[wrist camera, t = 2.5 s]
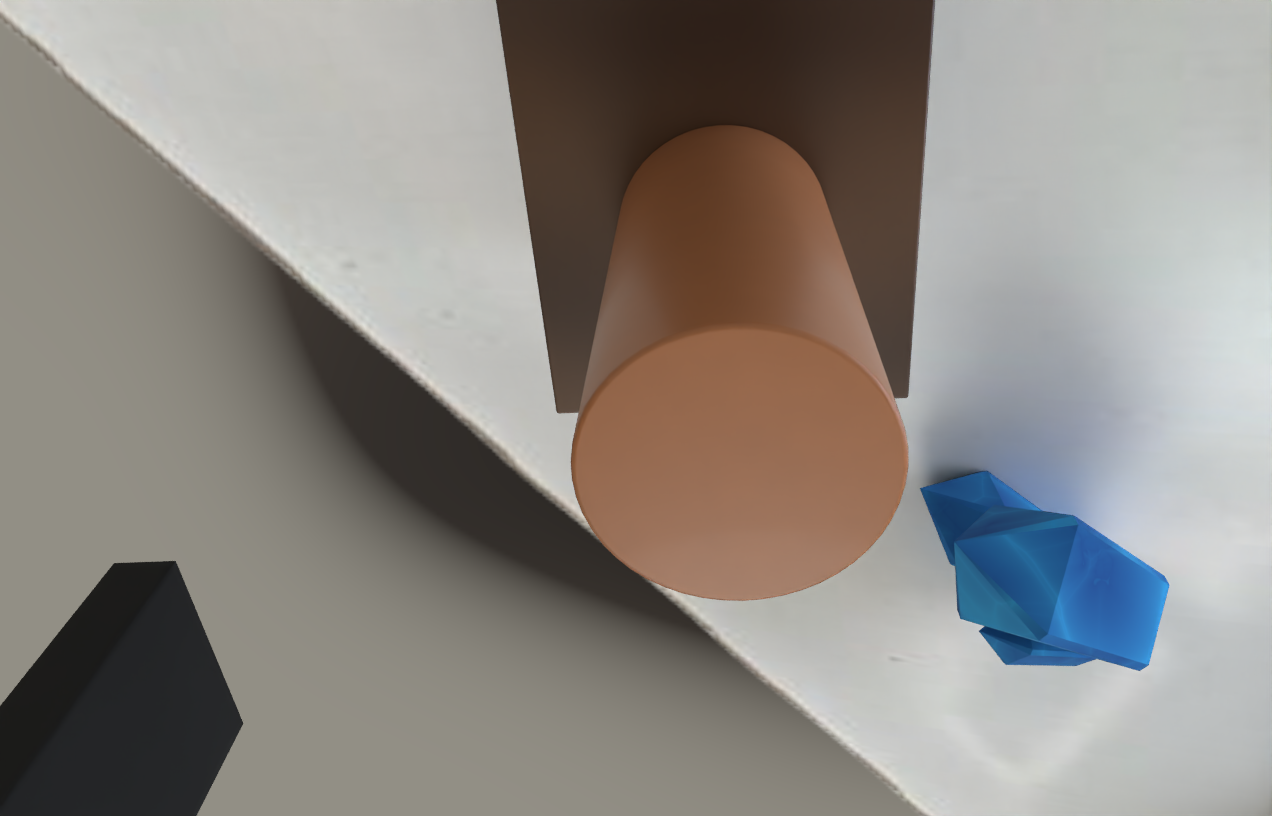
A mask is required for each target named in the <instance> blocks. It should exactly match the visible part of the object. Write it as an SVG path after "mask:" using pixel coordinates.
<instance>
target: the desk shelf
mask: <svg viewBox="0 0 1272 816" xmlns="http://www.w3.org/2000/svg"><path fill="white" fill-rule="evenodd" d="M496 3H497V10H498V17H499V24H500V31H501V37H502V44H503V51H504V58H505V65H506V71H507V78H508V85H509V92H510V98H511V105H512V112H513V119H514V126H515V132H516V139H517V146H518V153H519V160H520V166H521V173H522V180H523V187H524V194H525V200H526V207H527V214H528V221H529V227H530V234H531V241H532V248H533V255H534V261H535V268H536V275H537V282H538V289H539V295H540V302H541V309H542V316H543V323H544V329H545V336H546V343H547V350H548V356H549V363H550V370H551V377H552V384H553V390H554V397H555V404H556V411H557V413H577V412H579V409H580V404H581V399H582V394H583V389H584V384H585V379H586V375H587V370H588V365H589V360H590V355H591V350H592V345H593V340H594V336H595V331H596V326H597V321H598V316H599V311H600V306H601V301H602V296H603V292H604V287H605V282H606V277H607V272H608V267H609V262H610V257H611V253H612V248H613V243H614V238H615V233H616V228H617V223H618V218H619V214H620V209H621V205H622V201H623V197H624V195H625V192H626V190H627V187H628V185H629V183H630V181H631V179H632V178H633V176H634V174H635V173H636V171H637V170H638V169H639V167H640V166H641V165H642V163H643V162H644V161H645V160H646V159H647V158H648V157H649V156H650V155H651V154H652V153H653V152H654V151H656V150H657V149H658V148H659V147H661V146H662V145H663V144H665V143H666V142H668V141H670V140H672V139H673V138H675V137H677V136H679V135H682V134H684V133H686V132H689V131H692V130H695V129H699V128H703V127H709V126H716V125H735V126H743V127H749V128H753V129H756V130H760V131H763V132H765V133H767V134H770V135H772V136H774V137H776V138H778V139H780V140H781V141H783V142H785V143H786V144H787V145H789V146H790V147H791V148H792V149H794V150H795V151H796V152H797V153H798V154H799V155H800V156H801V157H802V158H803V159H804V160H805V161H806V162H807V164H808V165H809V166H810V168H811V169H812V171H813V172H814V174H815V176H816V178H817V179H818V181H819V183H820V186H821V188H822V191H823V194H824V197H825V200H826V203H827V206H828V209H829V211H830V214H831V217H832V220H833V223H834V226H835V229H836V232H837V234H838V237H839V240H840V243H841V246H842V249H843V252H844V255H845V257H846V260H847V263H848V266H849V269H850V272H851V275H852V278H853V281H854V283H855V286H856V289H857V292H858V295H859V298H860V301H861V304H862V306H863V309H864V312H865V315H866V318H867V321H868V324H869V327H870V329H871V332H872V335H873V338H874V341H875V344H876V347H877V350H878V352H879V355H880V358H881V361H882V364H883V367H884V370H885V373H886V376H887V378H888V381H889V384H890V387H891V390H892V393H893V396H894V398H907V397H908V392H909V377H910V363H911V348H912V333H913V318H914V304H915V289H916V274H917V259H918V245H919V230H920V215H921V200H922V186H923V171H924V156H925V142H926V127H927V112H928V97H929V83H930V68H931V53H932V38H933V24H934V9H935V0H496Z"/></svg>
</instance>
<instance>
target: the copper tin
mask: <svg viewBox="0 0 1272 816" xmlns="http://www.w3.org/2000/svg"><path fill="white" fill-rule="evenodd" d="M571 470H572V481H573V485H574V490H575V494H576V498H577V500H578V503H579V505H580V508H581V510H582V513H583V515H584V516H585V518H586V520H587V522H588V524H589V525H590V527H591V529H592V531H593V532H594V533H595V534H596V536H597V537H598V538H599V540H600V541H601V542H602V544H603V545H604V546H605V547H606V548H607V549H608V550H609V551H610V552H611V553H612V554H613V555H614V556H615V557H616V558H617V559H619V560H620V561H621V562H623V563H624V564H625V565H626V566H628V567H629V568H630V569H632V570H633V571H635V572H637V573H638V574H640V575H642V576H643V577H645V578H646V579H648V580H651V581H653V582H655V583H657V584H659V585H661V586H664V587H666V588H669V589H672V590H675V591H678V592H681V593H684V594H688V595H693V596H697V597H702V598H709V599H717V600H738V601H744V600H757V599H766V598H771V597H777V596H783V595H786V594H790V593H793V592H797V591H800V590H803V589H806V588H808V587H811V586H813V585H816V584H818V583H821V582H822V581H824V580H826V579H828V578H830V577H832V576H834V575H836V574H838V573H839V572H840V571H842V570H843V569H845V568H846V567H848V566H849V565H851V564H852V563H854V562H855V561H856V560H857V559H858V558H859V557H860V556H862V555H863V554H864V553H865V552H866V551H867V550H868V549H869V548H870V547H871V546H872V545H873V544H874V543H875V542H876V540H877V539H878V538H879V537H880V536H881V534H882V533H883V532H884V530H885V529H886V527H887V526H888V524H889V523H890V521H891V519H892V517H893V515H894V513H895V511H896V509H897V507H898V505H899V503H900V500H901V497H902V494H903V491H904V488H905V484H906V478H907V472H908V443H907V437H906V432H905V427H904V424H903V422H902V419H901V416H900V413H899V410H898V407H897V404H896V401H895V399H894V396H893V393H892V390H891V387H890V384H889V381H888V378H887V376H886V373H885V370H884V367H883V364H882V361H881V358H880V355H879V352H878V350H877V347H876V344H875V341H874V338H873V335H872V332H871V329H870V327H869V324H868V321H867V318H866V315H865V312H864V309H863V306H862V304H861V301H860V298H859V295H858V292H857V289H856V286H855V283H854V281H853V278H852V275H851V272H850V269H849V266H848V263H847V260H846V257H845V255H844V252H843V249H842V246H841V243H840V240H839V237H838V234H837V232H836V229H835V226H834V223H833V220H832V217H831V214H830V211H829V209H828V206H827V203H826V200H825V197H824V194H823V191H822V188H821V186H820V183H819V181H818V179H817V178H816V176H815V174H814V172H813V171H812V169H811V168H810V166H809V165H808V164H807V162H806V161H805V160H804V159H803V158H802V157H801V156H800V155H799V154H798V153H797V152H796V151H795V150H794V149H792V148H791V147H790V146H789V145H787V144H786V143H785V142H783V141H781V140H780V139H778V138H776V137H774V136H772V135H770V134H767V133H765V132H763V131H760V130H756V129H753V128H749V127H743V126H735V125H716V126H709V127H703V128H699V129H695V130H692V131H689V132H686V133H684V134H682V135H679V136H677V137H675V138H673V139H672V140H670V141H668V142H666V143H665V144H663V145H662V146H661V147H659V148H658V149H657V150H656V151H654V152H653V153H652V154H651V155H650V156H649V157H648V158H647V159H646V160H645V161H644V162H643V163H642V165H641V166H640V167H639V169H638V170H637V171H636V173H635V174H634V176H633V178H632V179H631V181H630V183H629V185H628V187H627V190H626V192H625V195H624V197H623V201H622V205H621V209H620V214H619V218H618V223H617V228H616V233H615V238H614V243H613V248H612V253H611V257H610V262H609V267H608V272H607V277H606V282H605V287H604V292H603V296H602V301H601V306H600V311H599V316H598V321H597V326H596V331H595V336H594V340H593V345H592V350H591V355H590V360H589V365H588V370H587V375H586V379H585V384H584V389H583V394H582V399H581V404H580V409H579V414H578V419H577V423H576V428H575V433H574V438H573V443H572V454H571Z"/></svg>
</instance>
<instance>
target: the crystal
mask: <svg viewBox="0 0 1272 816" xmlns="http://www.w3.org/2000/svg"><path fill="white" fill-rule="evenodd" d="M920 490H921V492H922V495H923V497H924V500H925V502H926V505H927V507H928V510H929V512H930V515H931V517H932V520H933V522H934V525H935V527H936V530H937V532H938V535H939V537H940V540H941V542H942V545H943V547H944V550H945V552H946V555H947V557H948V560H949V562H950V564H951V565H953V566H955V570H956V591H957V610H958V613H959V616H960V619H963V620H966V621H970V622H973V623H977V624H980V625H983V626H984V627H983V628H982V629H981V630H980V631H979V632H980V633H981V634H982V636H983V637H984V638H985V639H986V641H987V642H988V643H989V644H990V646H991V647H992V648H993V650H994V651H995V652H996V653H997V655H998V656H999V657H1000V659H1001V660H1002V661H1003V662H1004V663H1005V664H1006V665H1056V666H1077V665H1080V664H1083V663H1086V662H1089V661H1092V660H1095V659H1099V660H1103V661H1107V662H1110V663H1114V664H1117V665H1121V666H1124V667H1128V668H1131V669H1135V670H1138V671H1140V670H1142V669H1143V668H1145V667H1146V666H1148V665H1149V662H1150V658H1151V654H1152V650H1153V646H1154V642H1155V638H1156V635H1157V631H1158V627H1159V623H1160V619H1161V615H1162V612H1163V608H1164V604H1165V600H1166V596H1167V592H1168V588H1169V583H1168V582H1167V580H1166V578H1165V576H1164V575H1162V574H1161V573H1159V572H1158V571H1156V570H1155V569H1153V568H1152V567H1150V566H1149V565H1147V564H1146V563H1144V562H1143V561H1141V560H1140V559H1138V558H1137V557H1135V556H1134V555H1132V554H1131V553H1129V552H1128V551H1126V550H1125V549H1123V548H1122V547H1120V546H1119V545H1117V544H1116V543H1114V542H1113V541H1111V540H1110V539H1108V538H1107V537H1105V536H1104V535H1102V534H1101V533H1099V532H1098V531H1096V530H1095V529H1093V528H1092V527H1090V526H1089V525H1087V524H1086V523H1084V522H1083V521H1081V520H1080V519H1078V518H1077V517H1075V516H1073V515H1066V514H1059V513H1051V512H1044V511H1041V510H1040V509H1039V508H1037V507H1036V506H1035V505H1033V504H1032V503H1030V502H1029V501H1028V500H1026V499H1025V498H1024V497H1022V496H1021V495H1019V494H1018V493H1017V492H1015V491H1014V490H1013V489H1011V488H1010V487H1009V486H1007V485H1006V484H1004V483H1003V482H1002V481H1000V480H999V479H998V478H996V477H995V476H993V475H992V474H991V473H989V472H988V471H982V472H977V473H974V474H970V475H966V476H963V477H959V478H955V479H952V480H948V481H944V482H941V483H937V484H934V485H930V486H926V487H923V488H920Z"/></svg>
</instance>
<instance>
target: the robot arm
mask: <svg viewBox="0 0 1272 816" xmlns="http://www.w3.org/2000/svg"><path fill="white" fill-rule="evenodd" d="M242 725H243V722H242V719H241V717H240V714H239V712H238V710H237V707H236V705H235V702H234V700H233V698H232V695H231V693H230V690H229V688H228V686H227V683H226V681H225V678H224V676H223V674H222V671H221V669H220V666H219V664H218V662H217V659H216V657H215V654H214V652H213V650H212V647H211V645H210V643H209V640H208V638H207V635H206V633H205V630H204V628H203V626H202V623H201V621H200V619H199V616H198V614H197V611H196V609H195V606H194V604H193V602H192V599H191V597H190V594H189V592H188V590H187V587H186V585H185V582H184V580H183V578H182V575H181V573H180V570H179V568H178V566H177V564H176V561H163V562H137V563H136V562H135V563H114V564H113V565H112V567H111V568H110V569H109V570H108V572H107V573H106V574H105V575H104V577H103V578H102V579H101V580H100V582H99V583H98V584H97V585H96V587H95V588H94V589H93V590H92V592H91V593H90V594H89V596H88V597H87V598H86V599H85V600H84V602H83V603H82V604H81V606H80V607H79V608H78V609H77V611H76V612H75V613H74V614H73V615H72V617H71V618H70V619H69V620H68V622H67V623H66V624H65V626H64V627H63V628H62V629H61V631H60V632H59V633H58V634H57V636H56V637H55V638H54V639H53V641H52V642H51V643H50V644H49V646H48V647H47V648H46V649H45V651H44V652H43V653H42V654H41V656H40V657H39V658H38V659H37V661H36V662H35V663H34V664H33V666H32V667H31V668H30V669H29V671H28V672H27V673H26V674H25V676H24V677H23V678H22V679H21V681H20V682H19V683H18V685H17V686H16V687H15V688H14V690H13V691H12V692H11V693H10V694H9V696H8V697H7V698H6V700H5V701H4V702H3V703H2V705H1V706H0V816H196V815H197V813H198V811H199V809H200V807H201V806H202V804H203V802H204V800H205V798H206V796H207V794H208V792H209V790H210V788H211V786H212V784H213V782H214V780H215V778H216V776H217V774H218V772H219V770H220V768H221V766H222V764H223V762H224V760H225V758H226V756H227V754H228V752H229V750H230V748H231V746H232V745H233V743H234V741H235V739H236V736H237V735H238V733H239V730H240V729H241V727H242Z"/></svg>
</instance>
